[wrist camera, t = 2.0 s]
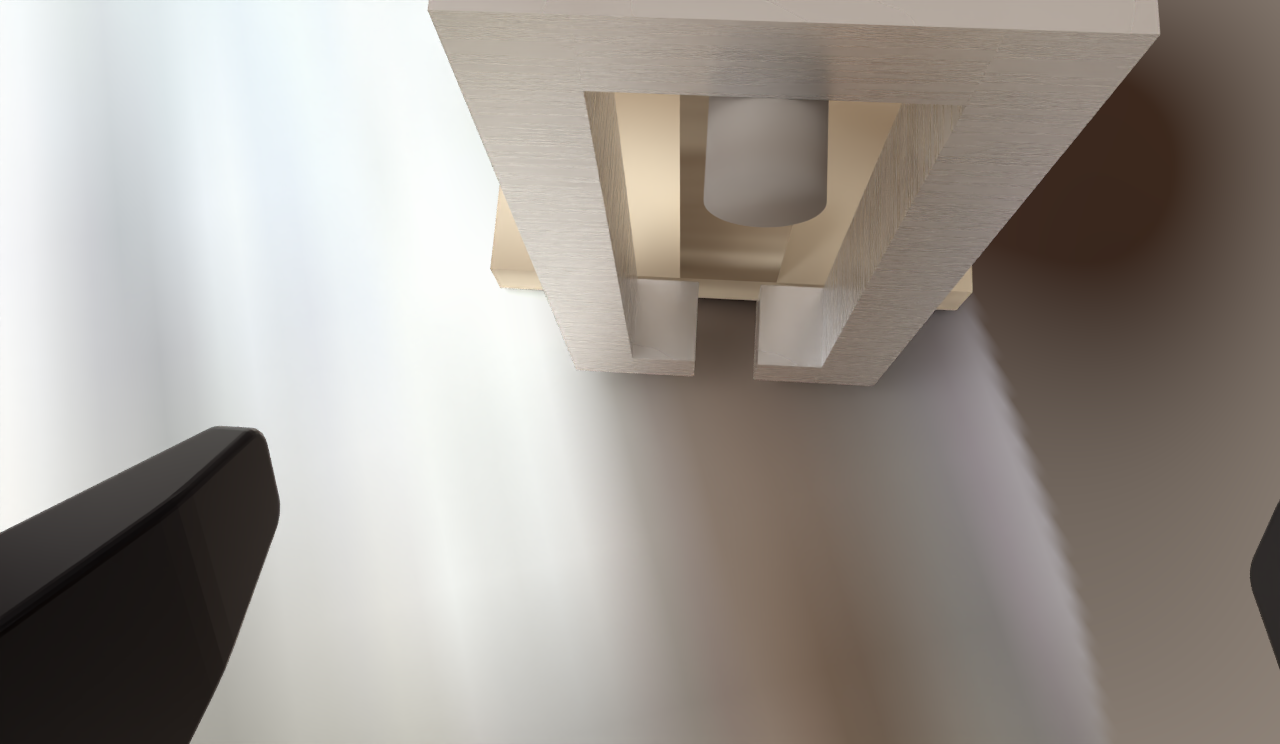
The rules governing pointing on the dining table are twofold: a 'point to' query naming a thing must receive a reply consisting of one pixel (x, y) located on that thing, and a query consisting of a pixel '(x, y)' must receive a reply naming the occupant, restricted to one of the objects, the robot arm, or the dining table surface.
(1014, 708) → the dining table surface
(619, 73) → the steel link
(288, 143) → the dining table surface
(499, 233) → the birch stand
